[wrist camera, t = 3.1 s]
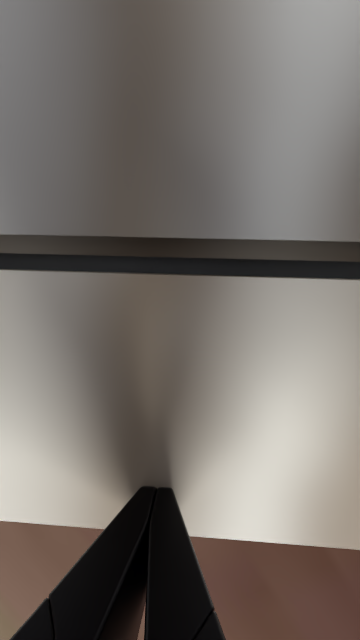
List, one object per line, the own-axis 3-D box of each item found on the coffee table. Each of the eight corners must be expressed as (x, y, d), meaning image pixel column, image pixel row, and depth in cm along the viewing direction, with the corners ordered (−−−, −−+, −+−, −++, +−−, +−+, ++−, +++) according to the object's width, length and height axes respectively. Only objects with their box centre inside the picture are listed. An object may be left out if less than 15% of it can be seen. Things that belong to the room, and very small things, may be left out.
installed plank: (602, -96, 6) (749, -221, 5) (502, 264, 8) (581, 269, 7) (-184, -61, 8) (-298, -151, 6) (-118, 249, 9) (-190, 250, 8)
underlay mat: (599, -97, 7) (636, -128, 6) (431, 514, 11) (443, 529, 11) (-180, -63, 8) (-209, -86, 8) (-65, 478, 12) (-78, 489, 12)
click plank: (498, 282, 8) (578, 286, 7) (453, 507, 10) (511, 562, 8) (-116, 265, 10) (-188, 265, 8) (-89, 468, 11) (-147, 509, 9)
